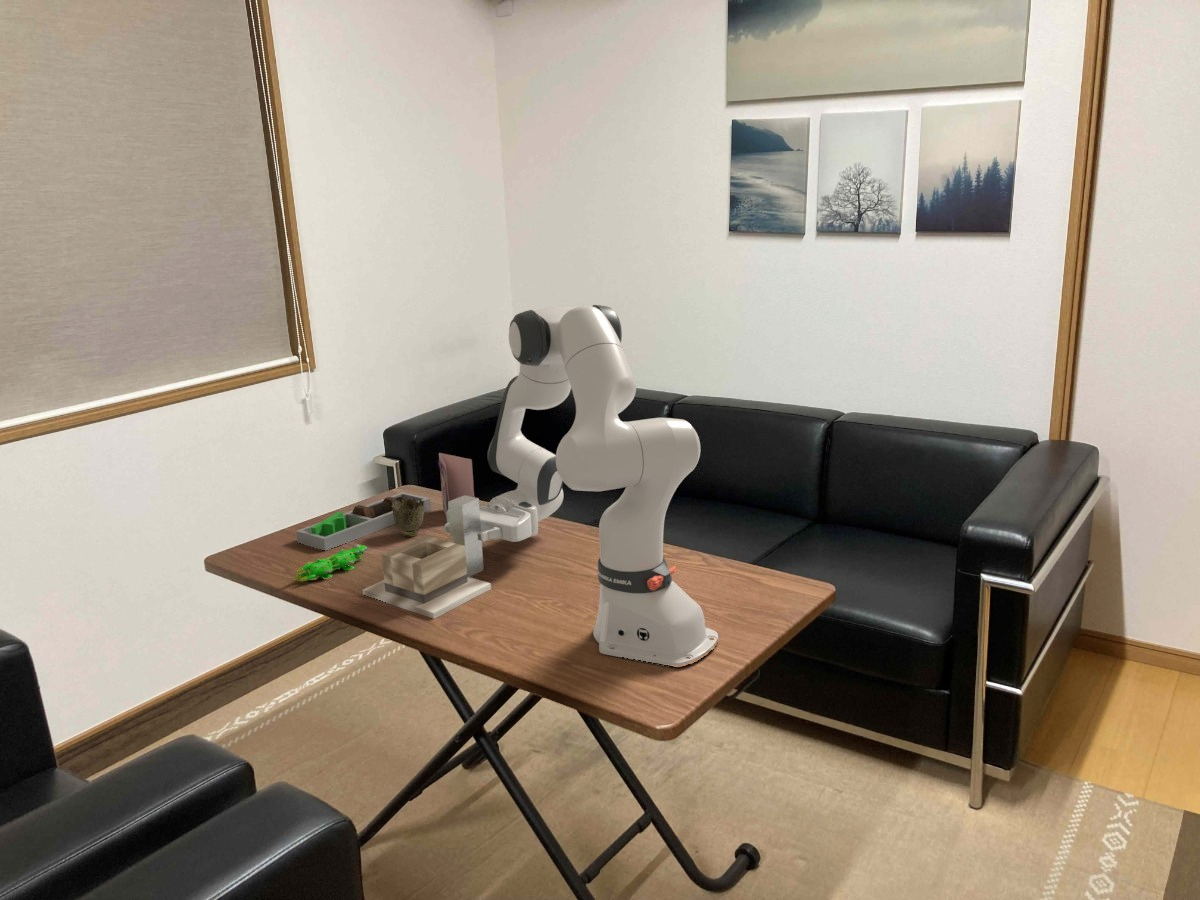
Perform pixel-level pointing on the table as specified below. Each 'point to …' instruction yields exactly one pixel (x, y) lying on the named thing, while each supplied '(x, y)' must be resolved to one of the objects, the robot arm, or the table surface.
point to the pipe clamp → (330, 525)
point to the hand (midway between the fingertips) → (463, 533)
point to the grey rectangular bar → (467, 530)
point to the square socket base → (426, 578)
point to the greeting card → (455, 478)
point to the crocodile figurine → (331, 564)
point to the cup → (408, 516)
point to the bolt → (377, 508)
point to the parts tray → (355, 526)
